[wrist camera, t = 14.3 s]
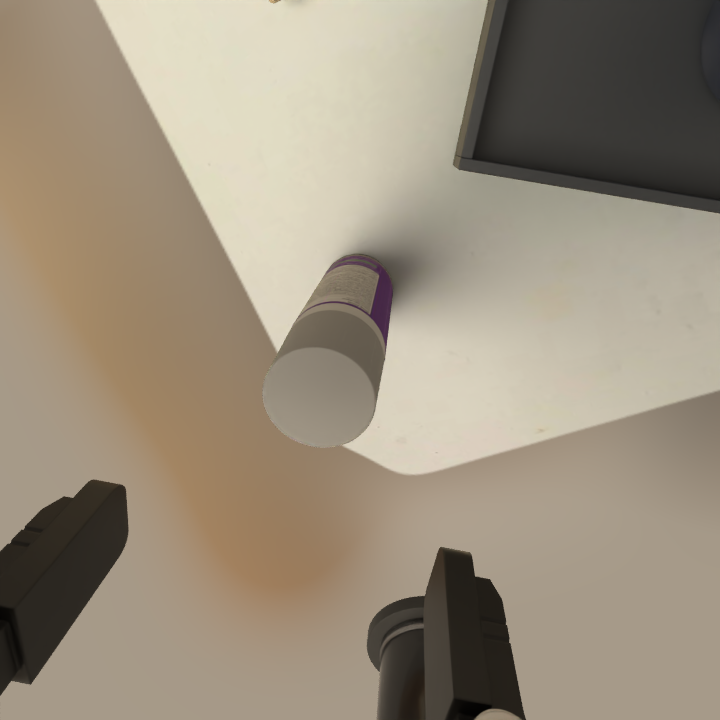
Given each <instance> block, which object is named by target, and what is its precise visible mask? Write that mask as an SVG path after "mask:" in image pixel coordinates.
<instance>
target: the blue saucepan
mask: <svg viewBox="0 0 720 720" xmlns="http://www.w3.org/2000/svg"><path fill="white" fill-rule="evenodd" d="M700 58H701V66H702V70H703V75H704V77H705V80H706V82H707V84H708V86H709V88H710V89H711V91H712V92H713V94H714V95H715V96H716V97H717V98H718V99H719V100H720V0H714V2H713V4H712V6H711V8H710V11H709V13H708V15H707V18H706V21H705V24H704V28H703V32H702V37H701V46H700Z"/></svg>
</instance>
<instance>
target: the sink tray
mask: <svg viewBox="0 0 720 720" xmlns="http://www.w3.org/2000/svg"><path fill="white" fill-rule="evenodd" d="M713 2H714V0H488V4H487V9H486V13H485V18H484V22H483V27H482V32H481V36H480V41H479V46H478V50H477V55H476V60H475V64H474V69H473V74H472V78H471V83H470V87H469V92H468V97H467V101H466V106H465V111H464V115H463V120H462V125H461V129H460V134H459V139H458V143H457V148H456V152H455V157H454V162H453V165H454V166H455V167H456V168H458V169H459V170H464V171H470V172H476V173H482V174H488V175H494V176H500V177H506V178H512V179H518V180H524V181H529V182H535V183H541V184H547V185H553V186H559V187H565V188H571V189H577V190H583V191H589V192H595V193H601V194H607V195H613V196H619V197H625V198H631V199H637V200H643V201H649V202H655V203H661V204H667V205H673V206H679V207H685V208H690V209H696V210H702V211H708V212H714V213H720V100H719V99H718V98H717V97H716V96H715V95H714V94H713V92H712V91H711V89H710V88H709V86H708V84H707V82H706V80H705V77H704V75H703V70H702V66H701V58H700V46H701V37H702V32H703V28H704V24H705V21H706V18H707V15H708V13H709V11H710V8H711V6H712V4H713Z"/></svg>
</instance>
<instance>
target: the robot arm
mask: <svg viewBox="0 0 720 720" xmlns="http://www.w3.org/2000/svg"><path fill="white" fill-rule="evenodd" d="M127 537H128V514H127V500H126V489H125V487H124V486H123V485H120V484H114V483H109V482H104V481H99V480H91V481H89V482H88V483H87V484H86V485H85V486H84V487H83V488H82V489H81V490H80V491H79V492H78V493H77V494H76V495H75V497H74V498H70V497H62V498H61V499H59V500H57V501H56V502H54V503H52V504H51V505H49V506H47V507H45V508H43V509H42V510H41V511H40V512H39V513H38V514H37V515H36V516H35V517H34V518H33V519H32V520H31V521H30V522H29V523H28V524H27V525H26V526H25V529H24V530H21V531H20V532H19V533H18V534H17V535H16V536H15V537H14V538H13V539H12V541H11V543H10V544H7V545H6V546H5V547H4V548H3V549H2V550H1V551H0V695H1V694H2V693H3V691H4V690H5V689H6V687H7V686H8V684H9V683H10V682H11V681H15V682H20V683H25V684H32V682H33V680H34V679H35V678H36V676H37V675H38V674H39V672H40V671H41V669H42V668H43V666H44V665H45V663H46V662H47V661H48V659H49V658H50V656H51V655H52V653H53V652H54V650H55V649H56V648H57V646H58V645H59V643H60V642H61V640H62V639H63V637H64V636H65V635H66V633H67V631H68V630H69V629H70V627H71V626H72V624H73V623H74V622H75V620H76V619H77V617H78V615H79V614H80V613H81V611H82V610H83V608H84V607H85V606H86V604H87V603H88V601H89V600H90V598H91V597H92V595H93V594H94V592H95V591H96V590H97V588H98V587H99V585H100V584H101V582H102V581H103V580H104V578H105V577H106V575H107V574H108V572H109V571H110V569H111V568H112V567H113V565H114V564H115V562H116V561H117V559H118V558H119V556H120V555H121V553H122V551H123V549H124V547H125V544H126V541H127ZM377 720H526V719H525V715H524V711H523V707H522V702H521V696H520V691H519V686H518V681H517V675H516V670H515V665H514V660H513V654H512V649H511V644H510V643H509V634H508V628H507V625H506V618H505V613H504V607H503V602H502V599H501V597H500V596H499V594H498V592H497V590H496V589H495V587H494V585H493V584H492V582H491V580H490V579H486V578H480V577H475V574H474V567H473V560H472V555H471V553H470V552H465V551H460V550H454V549H449V548H444V547H440V548H439V551H438V553H437V557H436V560H435V563H434V566H433V570H432V573H431V577H430V579H429V583H428V586H427V590H426V594H425V601H424V618H418V619H412V620H408V621H404V622H402V623H399V624H397V625H396V626H394V627H392V628H391V629H390V630H389V631H388V632H387V633H386V634H385V635H384V637H383V639H382V641H381V645H380V678H379V691H378V709H377Z"/></svg>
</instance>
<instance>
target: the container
mask: <svg viewBox="0 0 720 720" xmlns="http://www.w3.org/2000/svg"><path fill="white" fill-rule="evenodd" d="M392 296H393V285H392V281H391V277H390V275H389V273H388V271H387V270H386V269H385V267H384V266H383V265H382V264H381V263H380V262H378V261H377V260H375V259H373V258H371V257H369V256H366V255H360V254H355V255H348V256H345V257H342V258H340V259H339V260H337V261H336V262H335V263H333V264H332V265H331V267H330V268H329V269H328V270H327V272H326V273H325V275H324V277H323V278H322V280H321V281H320V283H319V285H318V286H317V288H316V289H315V291H314V293H313V294H312V296H311V297H310V299H309V300H308V302H307V304H306V305H305V307H304V308H303V310H302V312H301V313H300V315H299V316H298V318H297V319H296V321H295V323H294V324H293V326H292V328H291V330H290V332H289V334H288V335H287V337H286V339H285V341H284V343H283V345H282V346H281V348H280V350H279V352H278V354H277V356H276V358H275V359H274V361H273V363H272V365H271V367H270V369H269V371H268V372H267V374H266V377H265V379H264V383H263V390H262V396H263V402H264V406H265V409H266V412H267V414H268V416H269V417H270V419H271V421H272V422H273V423H274V425H275V426H276V427H277V428H278V429H279V430H280V431H281V432H282V433H284V434H285V435H286V436H288V437H289V438H291V439H293V440H295V441H297V442H299V443H302V444H304V445H308V446H312V447H322V448H328V447H336V446H340V445H343V444H346V443H348V442H350V441H352V440H354V439H355V438H357V437H358V436H360V435H361V434H362V433H363V432H364V431H365V430H366V428H367V427H368V426H369V424H370V422H371V421H372V418H373V416H374V412H375V407H376V402H377V397H378V391H379V386H380V381H381V375H382V370H383V365H384V360H385V354H386V346H387V337H388V329H389V321H390V312H391V304H392Z"/></svg>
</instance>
